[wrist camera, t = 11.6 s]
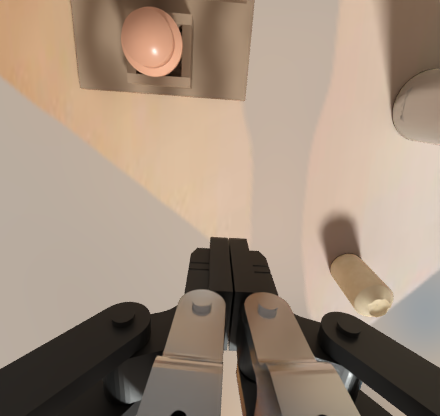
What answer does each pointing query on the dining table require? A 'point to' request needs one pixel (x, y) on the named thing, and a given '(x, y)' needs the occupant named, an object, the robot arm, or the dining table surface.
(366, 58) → the dining table surface
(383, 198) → the dining table surface
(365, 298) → the candle
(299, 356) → the robot arm
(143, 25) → the middle knob
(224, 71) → the mount block
